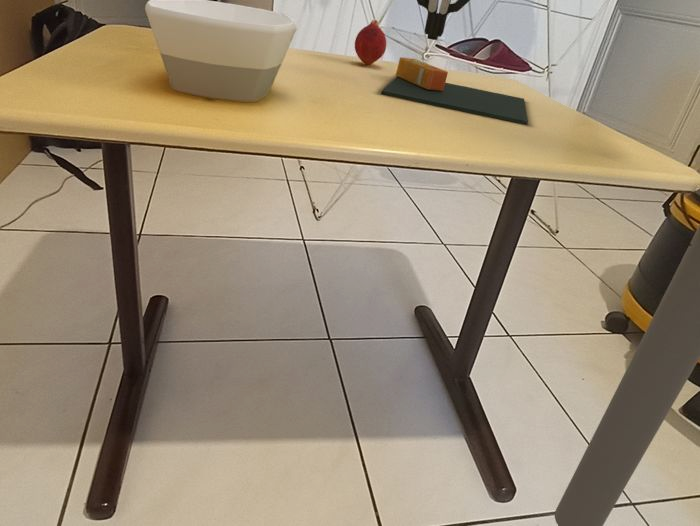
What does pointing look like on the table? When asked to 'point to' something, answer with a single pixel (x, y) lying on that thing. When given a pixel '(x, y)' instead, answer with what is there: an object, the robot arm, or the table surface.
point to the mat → (462, 100)
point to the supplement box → (421, 74)
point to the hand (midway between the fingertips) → (432, 38)
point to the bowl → (220, 47)
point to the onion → (370, 43)
